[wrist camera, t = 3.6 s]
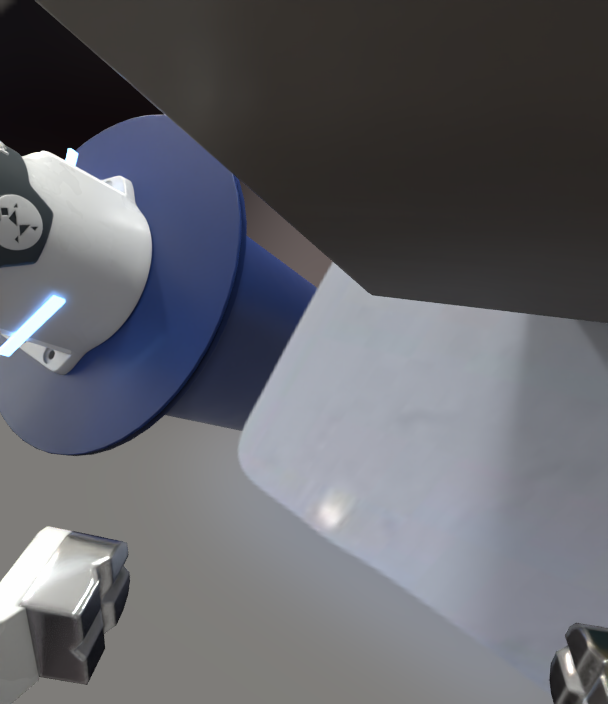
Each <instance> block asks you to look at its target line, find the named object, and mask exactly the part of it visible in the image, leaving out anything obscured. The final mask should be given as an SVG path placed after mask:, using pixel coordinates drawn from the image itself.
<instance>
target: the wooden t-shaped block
mask: <svg viewBox="0 0 608 704" xmlns="http://www.w3.org/2000/svg"><path fill="white" fill-rule="evenodd" d="M35 1H36V2H37V3H38V4H40V5H41V6H42V7H43V8H44V9H45V10H46V11H48V12H49V13H50V14H51V15H52V16H53V17H55V18H56V19H57V20H58V21H59V22H60V23H61V24H62V25H64V26H65V27H66V28H67V29H68V30H70V32H72V33H73V34H74V35H75V36H76V37H77V38H78V39H80V40H81V41H82V42H83V43H84V44H85V45H86V46H88V47H89V48H90V49H91V50H92V51H93V52H94V53H96V54H97V55H98V56H99V57H100V58H101V59H102V60H104V61H105V62H106V63H107V64H108V65H109V66H110V67H111V68H113V69H114V70H115V71H116V72H117V73H118V74H119V75H121V76H122V77H123V78H124V79H126V80H127V81H128V82H129V83H130V84H131V85H132V86H133V87H134V88H135V89H137V90H138V91H139V92H140V93H141V94H142V95H143V96H145V97H146V98H147V99H148V100H149V101H150V102H151V103H153V104H154V105H155V106H156V107H157V108H158V109H159V110H161V111H162V112H163V113H164V114H165V115H166V116H167V117H169V118H170V119H171V120H172V121H173V122H174V123H175V124H177V125H178V126H179V127H180V128H181V129H182V130H183V131H185V132H186V133H187V134H188V135H189V136H190V137H191V138H193V139H194V140H195V141H196V142H197V143H198V144H199V145H201V146H202V147H203V148H204V149H205V150H206V151H207V152H209V153H210V154H211V155H212V156H213V157H214V158H215V159H216V160H218V161H219V162H220V163H221V164H222V165H223V166H224V167H226V168H227V169H228V170H229V171H230V172H231V173H232V174H234V175H235V176H236V177H237V178H238V179H240V181H242V182H243V183H244V184H245V185H246V186H247V187H249V188H250V189H251V190H252V191H253V192H254V193H255V194H256V195H258V196H259V197H260V198H261V199H262V200H263V201H265V202H266V203H267V204H268V205H269V206H270V207H271V208H272V209H274V210H275V211H276V212H277V213H278V214H279V215H280V216H282V217H283V218H284V219H285V220H286V221H287V222H288V223H290V224H291V225H292V226H293V227H294V228H295V229H296V230H298V231H299V232H300V233H301V234H302V235H303V236H304V237H306V238H307V239H308V240H309V241H310V242H311V243H312V244H314V245H315V246H316V247H317V248H318V249H319V250H321V251H322V252H323V253H324V254H325V255H326V256H327V257H329V258H330V259H331V260H332V261H333V262H334V263H335V264H336V265H337V266H339V267H340V268H341V269H342V270H343V271H344V272H345V273H347V274H348V275H349V276H350V277H351V278H352V279H353V280H355V281H356V282H357V283H358V284H359V285H360V286H361V287H363V288H364V289H365V290H366V291H367V292H368V293H370V294H371V295H375V296H383V297H392V298H400V299H408V300H417V301H425V302H434V303H442V304H451V305H459V306H467V307H476V308H484V309H493V310H501V311H510V312H518V313H527V314H535V315H543V316H552V317H560V318H569V319H577V320H586V321H594V322H602V323H608V0H35Z"/></svg>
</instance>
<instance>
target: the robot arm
mask: <svg viewBox="0 0 608 704" xmlns="http://www.w3.org/2000/svg"><path fill="white" fill-rule="evenodd" d="M77 157H78V153H77V152H75V151H74V150H72V149H71V148H70V149H68V152H67V156H66V160H63V159H61V158H59V157H58V156H56V155H54V154H52V153H50V152H46V151H41V152H40V153H32V154H29V155H27V156H20V154H18V153H17V152H16V151H14V150H12V149H11V148H9V147H7V146H6V145H4V144H3V143H2V142H1V141H0V334H1V335H2V336H4V337H5V338H6V339H8V340H7V341H6V342H5V343H4V344H3V345H2V346H1V347H0V355H4V356H8V357H9V356H10V355H11V354H12V353H13V352H14V351H15V350H16V349H17V348H18V347H19V348H20V349H22V350H23V351H24V352H26V353H27V354H28V355H30V356H31V357H33V358H34V359H35V360H37V361H38V362H39V363H41V364H42V365H44V366H45V367H46V368H48V369H49V370H51V371H52V372H55V373H58V374H60V375H65V374H67V373H68V372H70V371H71V370H72V369H73V368H74V366H75V365H76V364H77V363H78V362H79V361H80V359H81V358H82V357H83V356H84V354H86V353H87V352H88V351H90V350H91V349H93V348H95V347H96V346H98V345H100V344H102V343H103V342H105V341H106V340H107V339H109V338H110V337H111V336H112V335H113V334H114V333H115V332H116V331H117V330H118V329H119V328H120V327H121V326H122V325H123V324H124V322H125V321H126V320H127V319H128V317H129V316H130V314H131V313H132V311H133V310H134V308H135V306H136V305H137V303H138V301H139V299H140V297H141V294H142V292H143V290H144V287H145V284H146V281H147V278H148V274H149V270H150V265H151V258H152V239H151V232H150V229H149V225H148V223H147V221H146V219H145V217H144V215H143V214H142V213H141V211H140V210H139V208H138V207H137V205H136V203H135V195H134V189H133V185H132V182H131V181H130V180H128V179H126V178H124V177H122V176H115V177H112V178H108V179H104V180H99V179H97V178H96V177H94V176H92V175H90V174H88V173H87V172H85V171H83V170H81V169H79V168H78V167H76V166H75V165H76V161H77ZM127 557H128V547H127V543H126V542H123V541H118V540H113V539H108V538H104V537H99V536H94V535H89V534H85V533H79V532H75V531H69V530H64V529H59V528H54V527H49V526H47V527H46V528H44V529H43V530H41V531H40V532H38V534H37V535H36V536H35V537H34V539H33V540H32V541H31V543H30V544H29V545H28V547H27V548H26V549H25V551H24V552H23V553H22V554H21V556H20V557H19V558H18V560H17V561H16V562H15V564H14V565H13V566H12V568H11V569H10V570H9V571H8V573H7V574H6V575H5V577H4V578H3V579H2V581H1V582H0V704H11V703H13V702H14V701H15V700H16V699H17V698H19V697H20V696H21V695H22V694H23V693H24V692H26V691H27V690H28V689H29V688H30V687H32V686H33V685H34V684H35V683H36V682H37V681H39V677H43V678H49V679H55V680H61V681H67V682H73V683H79V684H85V685H87V684H88V682H89V680H90V678H91V676H92V674H93V672H94V670H95V667H96V666H97V663H98V662H99V660H100V657H101V655H102V654H103V651H104V649H105V644H104V634H105V633H106V632H107V631H109V630H110V629H112V628H113V627H114V626H116V624H117V623H118V620H119V618H120V616H121V614H122V612H123V609H124V606H125V602H126V599H127V596H128V591H129V583H130V576H129V571H128V570H127V569H126V568H125V567H124V566H123V565H124V563H125V561H126V559H127ZM565 637H566V640H567V643H568V646H566V647H564V648H562V649H560V650H558V651H556V654H555V656H554V658H553V660H552V662H551V668H550V688H551V695H552V698H553V702H554V704H608V628H605V627H599V626H593V625H587V624H581V623H575V624H573V625H571V626H570V627H569V629H568V631H567V632H566V634H565Z"/></svg>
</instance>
